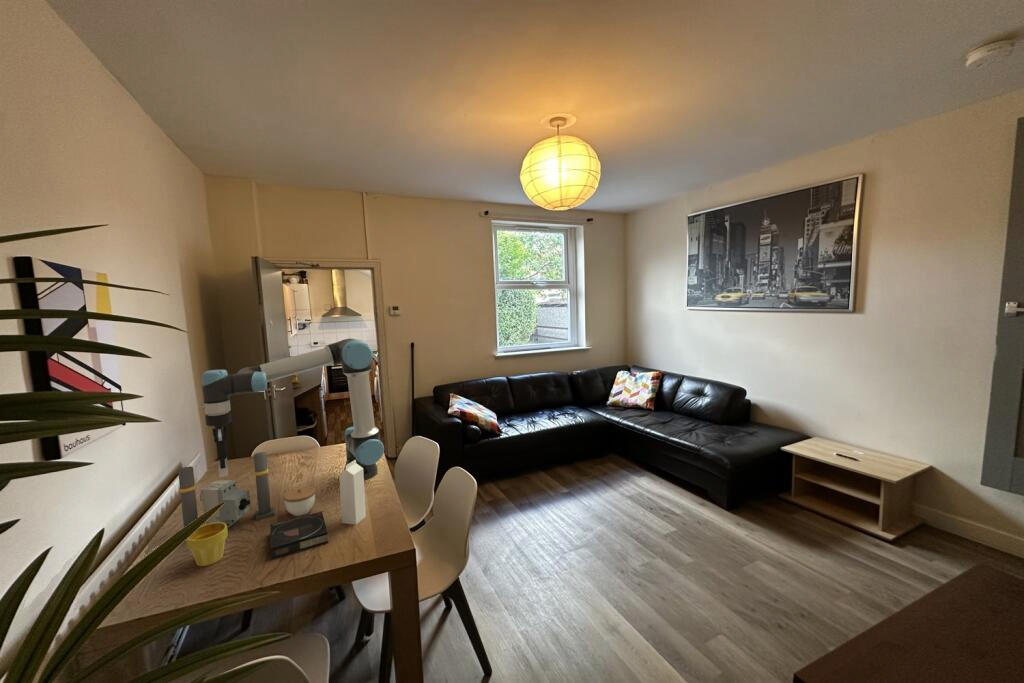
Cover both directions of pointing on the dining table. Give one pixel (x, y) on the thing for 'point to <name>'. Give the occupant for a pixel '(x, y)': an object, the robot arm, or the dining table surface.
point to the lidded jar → (299, 500)
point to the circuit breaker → (228, 493)
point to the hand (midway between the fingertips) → (223, 475)
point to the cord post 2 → (262, 487)
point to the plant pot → (208, 543)
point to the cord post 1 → (187, 494)
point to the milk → (352, 494)
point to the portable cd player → (297, 534)
